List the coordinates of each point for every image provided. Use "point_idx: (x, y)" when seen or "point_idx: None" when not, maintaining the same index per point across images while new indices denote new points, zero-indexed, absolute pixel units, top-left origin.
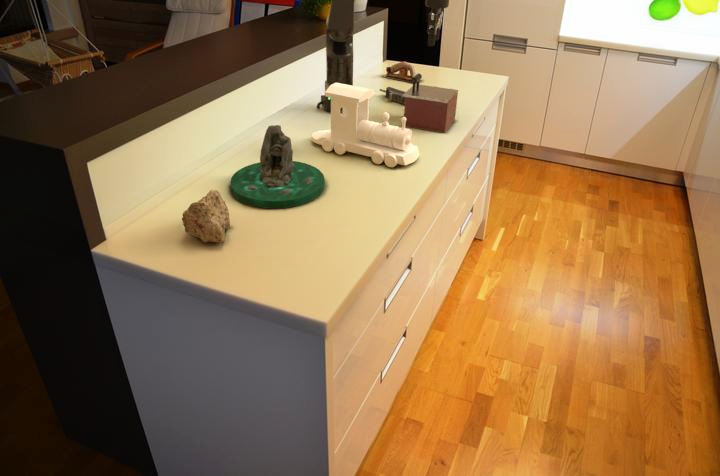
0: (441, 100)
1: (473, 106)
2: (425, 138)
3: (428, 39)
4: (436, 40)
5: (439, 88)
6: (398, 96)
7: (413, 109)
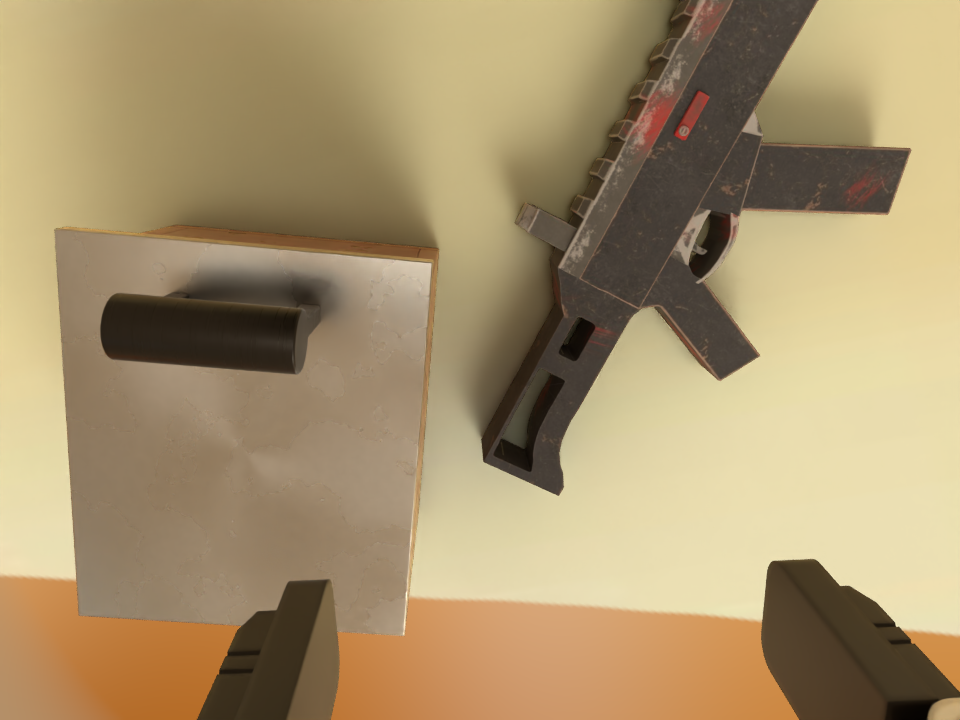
0: (77, 565)
1: (735, 569)
2: (31, 407)
3: (263, 652)
4: (762, 627)
5: (382, 495)
6: (660, 53)
7: None
